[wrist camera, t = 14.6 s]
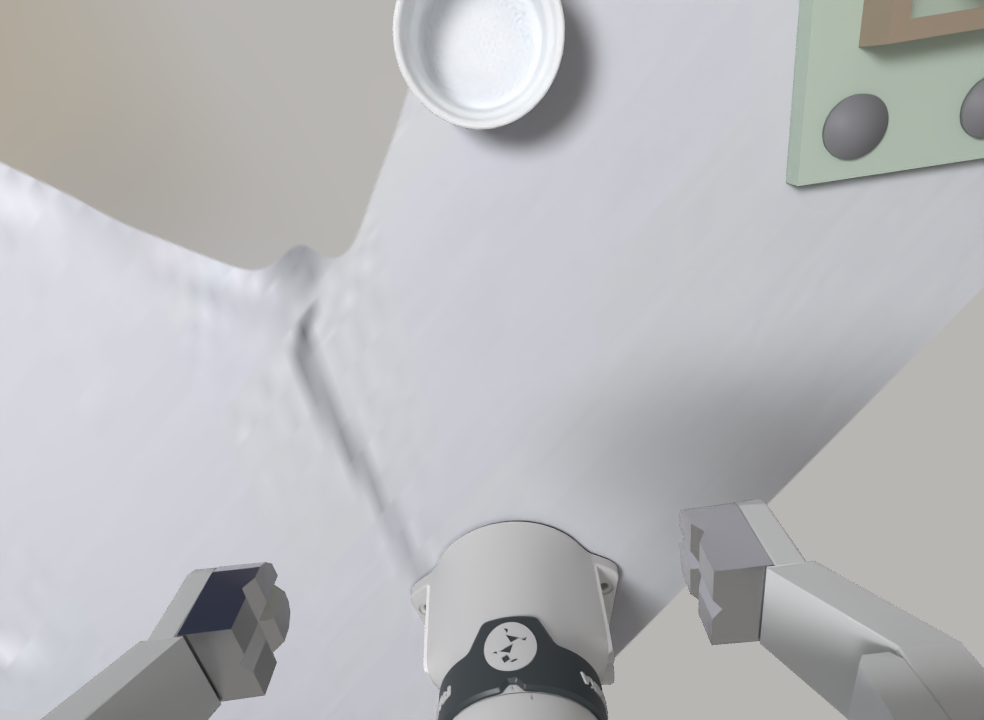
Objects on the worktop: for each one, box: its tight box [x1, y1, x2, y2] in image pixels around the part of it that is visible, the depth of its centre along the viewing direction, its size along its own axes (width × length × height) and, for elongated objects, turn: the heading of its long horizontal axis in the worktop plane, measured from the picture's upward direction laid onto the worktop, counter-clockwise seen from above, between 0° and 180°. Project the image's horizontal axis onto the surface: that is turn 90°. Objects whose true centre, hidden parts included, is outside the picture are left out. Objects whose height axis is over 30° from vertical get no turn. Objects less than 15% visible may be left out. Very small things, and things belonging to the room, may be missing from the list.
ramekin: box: [393, 0, 565, 130], centre depth 31 cm, size 9×9×4 cm
